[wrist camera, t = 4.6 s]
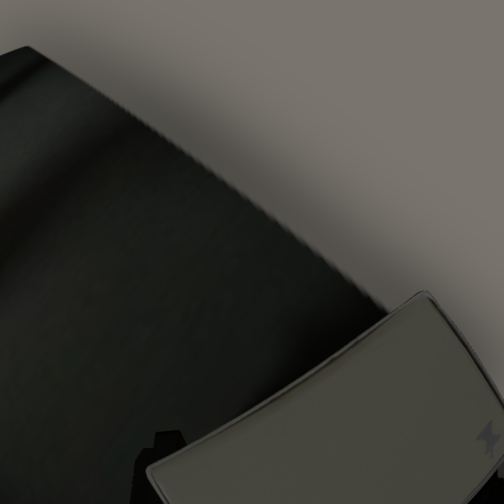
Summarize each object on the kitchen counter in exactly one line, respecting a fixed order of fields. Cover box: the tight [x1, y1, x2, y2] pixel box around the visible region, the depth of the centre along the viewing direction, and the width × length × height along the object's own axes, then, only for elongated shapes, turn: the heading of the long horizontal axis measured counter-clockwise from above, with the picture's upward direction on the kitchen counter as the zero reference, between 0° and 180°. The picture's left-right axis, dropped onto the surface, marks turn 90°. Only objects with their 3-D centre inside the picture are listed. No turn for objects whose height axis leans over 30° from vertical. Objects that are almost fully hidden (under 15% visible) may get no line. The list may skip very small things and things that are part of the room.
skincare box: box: [146, 291, 504, 504], centre depth 9 cm, size 6×4×12 cm
